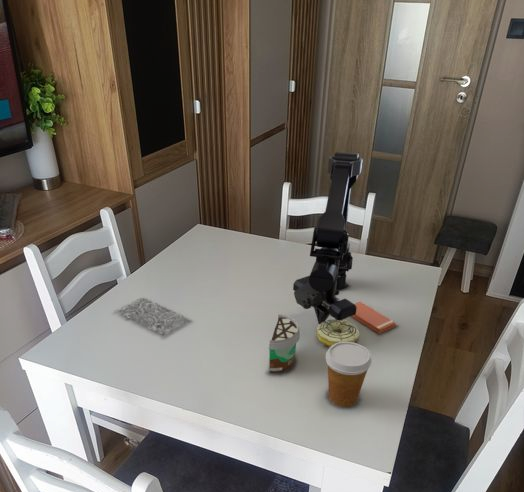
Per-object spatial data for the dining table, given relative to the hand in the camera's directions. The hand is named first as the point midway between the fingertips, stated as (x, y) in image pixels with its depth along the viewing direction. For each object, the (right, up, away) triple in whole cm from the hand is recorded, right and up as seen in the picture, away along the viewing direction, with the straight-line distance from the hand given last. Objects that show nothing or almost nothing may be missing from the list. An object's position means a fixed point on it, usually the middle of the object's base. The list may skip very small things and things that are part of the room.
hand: (320, 324), depth 129 cm
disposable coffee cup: (+2, -17, -22) cm, 28 cm away
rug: (-46, +2, +4) cm, 46 cm away
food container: (-10, -10, -12) cm, 18 cm away
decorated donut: (+4, -4, -4) cm, 7 cm away
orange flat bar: (+14, +2, +5) cm, 15 cm away
